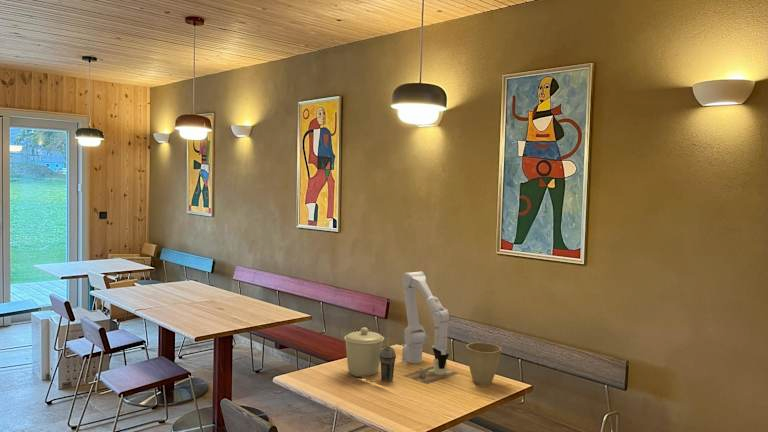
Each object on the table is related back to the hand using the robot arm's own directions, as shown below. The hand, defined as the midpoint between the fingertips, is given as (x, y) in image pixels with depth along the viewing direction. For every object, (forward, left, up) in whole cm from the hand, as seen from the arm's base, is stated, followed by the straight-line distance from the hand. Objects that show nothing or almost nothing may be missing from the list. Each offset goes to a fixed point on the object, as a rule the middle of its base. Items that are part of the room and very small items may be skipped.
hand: (439, 365), depth 253 cm
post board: (0, -6, -4) cm, 7 cm away
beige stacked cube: (0, 0, -2) cm, 2 cm away
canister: (-23, -26, -4) cm, 35 cm away
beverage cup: (-8, -26, -4) cm, 28 cm away
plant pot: (+20, +5, -4) cm, 21 cm away
